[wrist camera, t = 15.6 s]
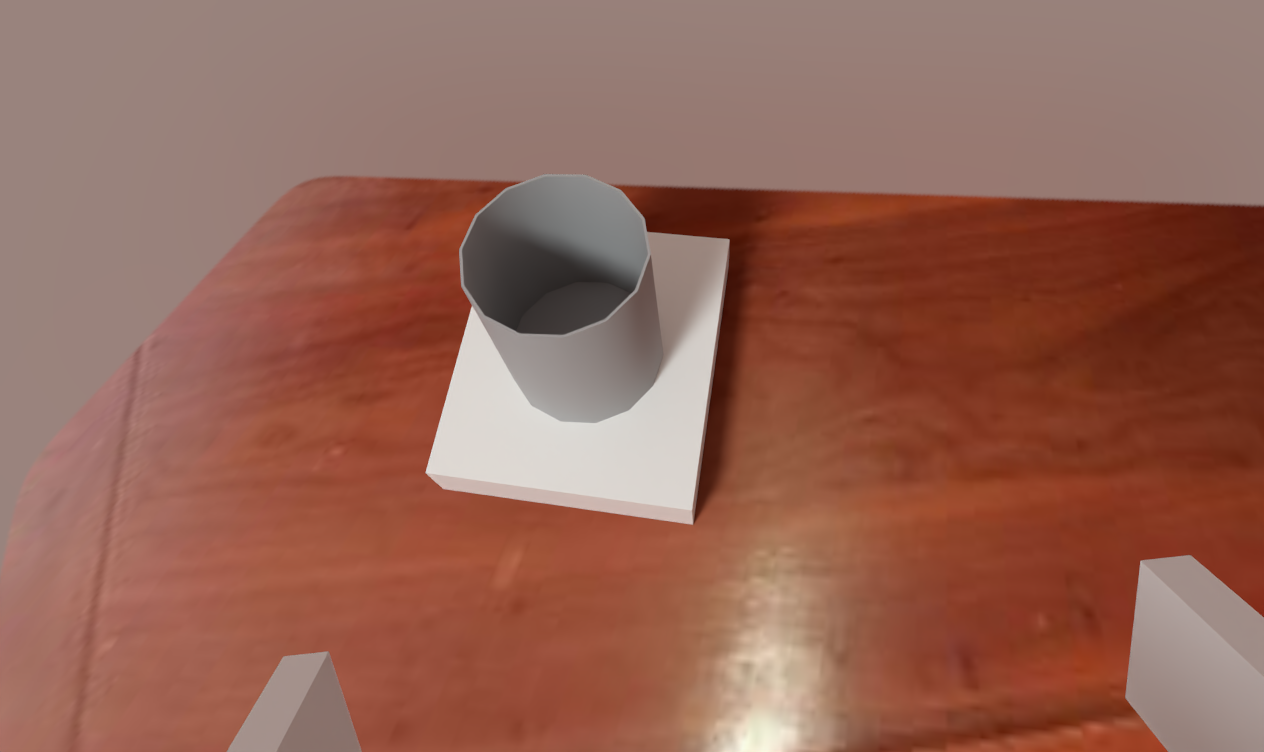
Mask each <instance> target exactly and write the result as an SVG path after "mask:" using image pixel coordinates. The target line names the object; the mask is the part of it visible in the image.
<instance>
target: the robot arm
mask: <svg viewBox="0 0 1264 752" xmlns="http://www.w3.org/2000/svg"><path fill="white" fill-rule="evenodd" d="M1125 698H1126V699H1127V701H1128V702H1129V703H1130V704H1131V706H1132V707H1133V708H1134V709H1135V711H1136V712H1137V713H1138V714H1139V716H1140V717H1141V718H1142V719H1143V721H1144V722H1145V723H1146V724H1147V726H1148V727H1149V728H1150V729H1151V731H1152V732H1153V733H1154V734H1155V736H1156V737H1157V738H1158V739H1159V741H1160V742H1161V743H1162V744H1163V746H1164V747H1165V748H1166V749H1167V751H1168V752H1264V617H1262V616H1261V615H1260V614H1259V613H1258V612H1256V611H1255V610H1254V609H1253V608H1252V607H1251V606H1249V605H1248V604H1247V603H1246V602H1245V601H1244V600H1242V599H1241V598H1240V597H1239V596H1238V595H1237V594H1235V593H1234V592H1233V591H1232V590H1231V589H1229V588H1228V587H1227V586H1226V585H1225V584H1224V583H1222V582H1221V581H1220V580H1219V579H1218V578H1217V577H1215V576H1214V575H1213V574H1212V573H1211V572H1210V571H1208V570H1207V569H1206V568H1205V567H1204V566H1203V565H1201V564H1200V563H1199V562H1198V561H1197V560H1195V559H1194V558H1193V557H1192V556H1191V555H1187V556H1178V557H1169V558H1160V559H1151V560H1142V561H1141V562H1140V571H1139V580H1138V589H1137V598H1136V607H1135V616H1134V625H1133V634H1132V643H1131V651H1130V660H1129V669H1128V678H1127V687H1126V696H1125ZM227 752H362V751H361V748H360V745H359V742H358V739H357V736H356V733H355V730H354V726H353V723H352V720H351V717H350V714H349V711H348V708H347V705H346V702H345V699H344V696H343V693H342V690H341V687H340V684H339V681H338V678H337V675H336V672H335V669H334V666H333V663H332V660H331V657H330V654H329V651H328V652H319V653H310V654H302V655H293V656H284V657H283V658H282V660H281V662H280V663H279V665H278V667H277V668H276V670H275V672H274V673H273V675H272V677H271V678H270V680H269V682H268V683H267V685H266V687H265V688H264V690H263V692H262V693H261V695H260V697H259V698H258V700H257V702H256V703H255V705H254V707H253V709H252V710H251V712H250V714H249V715H248V717H247V719H246V720H245V722H244V724H243V725H242V727H241V729H240V730H239V732H238V734H237V735H236V737H235V739H234V740H233V742H232V744H231V745H230V747H229V749H228V750H227Z"/></svg>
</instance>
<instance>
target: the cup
mask: <svg viewBox="0 0 1264 752" xmlns="http://www.w3.org/2000/svg"><path fill="white" fill-rule="evenodd" d="M459 254H460V272H461V286H462V288H463V290H464V292H465V294H466V295H467V297H468V299H469V301H470V302H471V304H472V306H473V308H474V310H475V311H476V313H477V315H478V317H479V318H480V320H481V322H482V324H483V325H484V327H485V329H486V331H487V333H488V334H489V336H490V338H491V340H492V341H493V343H494V345H495V347H496V349H497V350H498V352H499V354H500V356H501V357H502V359H503V361H504V363H505V364H506V366H507V368H508V370H509V372H510V373H511V375H512V377H513V379H514V380H515V382H516V383H517V385H518V386H519V388H520V389H521V391H522V392H523V394H524V395H525V397H526V398H527V400H528V401H529V403H530V404H531V406H533V407H535V408H537V409H538V410H540V411H542V412H544V413H546V414H548V415H550V416H551V417H553V418H555V419H557V420H559V421H561V422H581V423H598V422H600V421H603V420H605V419H608V418H611V417H613V416H616V415H618V414H621V413H623V412H626V411H629V410H630V409H631V408H632V407H633V406H634V405H635V404H636V403H637V402H638V401H639V400H640V399H641V398H642V397H643V396H644V395H645V394H646V393H647V392H648V391H649V390H650V388H651V387H652V386H653V385H654V382H655V379H656V376H657V373H658V370H659V367H660V364H661V361H662V358H663V347H662V339H661V331H660V323H659V315H658V307H657V299H656V291H655V283H654V275H653V267H652V259H651V252H650V246H649V241H648V235H647V230H646V224H645V218H644V217H643V216H642V215H641V213H640V212H639V211H638V210H637V209H636V207H635V206H634V205H633V204H632V203H631V201H630V200H629V199H628V198H627V197H626V196H625V194H624V193H623V192H622V191H621V190H620V189H617V188H615V187H613V186H610V185H608V184H606V183H603V182H601V181H599V180H596V179H594V178H592V177H589V176H587V175H566V174H563V175H562V174H559V175H558V174H544V175H541V176H539V177H536V178H533V179H530V180H527V181H525V182H522V183H519V184H517V185H514V186H511V187H508V188H506V189H504V190H503V191H502V192H501V193H500V194H499V195H498V196H496V197H495V198H494V199H493V200H492V201H491V202H490V203H488V204H487V205H486V206H485V207H484V208H483V209H482V210H480V211H479V212H478V213H477V214H476V215H475V217H474V219H473V221H472V223H471V225H470V227H469V230H468V232H467V234H466V236H465V238H464V240H463V243H462V245H461V247H460V249H459Z"/></svg>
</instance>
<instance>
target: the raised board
mask: <svg viewBox="0 0 1264 752" xmlns="http://www.w3.org/2000/svg"><path fill="white" fill-rule="evenodd" d="M647 235H648V241H649V246H650V252H651V259H652V267H653V275H654V283H655V291H656V299H657V307H658V315H659V323H660V331H661V339H662V347H663V358H662V361H661V364H660V367H659V370H658V373H657V376H656V379H655V382H654V385H653V386H652V387H651V388H650V390H649V391H648V392H647V393H646V394H645V395H644V396H643V397H642V398H641V399H640V400H639V401H638V402H637V403H636V404H635V405H634V406H633V407H632V408H631V409H630V410H629V411H626V412H623V413H621V414H618V415H616V416H613V417H611V418H608V419H605V420H603V421H600V422H598V423H581V422H561V421H559V420H557V419H555V418H553V417H551V416H550V415H548V414H546V413H544V412H542V411H540V410H538V409H537V408H535V407H533V406H531V404H530V403H529V401H528V400H527V398H526V397H525V395H524V394H523V392H522V391H521V389H520V388H519V386H518V385H517V383H516V382H515V380H514V379H513V377H512V375H511V373H510V372H509V370H508V368H507V366H506V364H505V363H504V361H503V359H502V357H501V356H500V354H499V352H498V350H497V349H496V347H495V345H494V343H493V341H492V340H491V338H490V336H489V334H488V333H487V331H486V329H485V327H484V325H483V324H482V322H481V320H480V318H479V317H478V315H477V313H476V311H475V310H474V308H473V306H472V308H471V311H470V315H469V318H468V322H467V326H466V329H465V333H464V336H463V340H462V344H461V347H460V351H459V354H458V358H457V362H456V365H455V369H454V372H453V376H452V380H451V383H450V387H449V390H448V394H447V398H446V401H445V405H444V408H443V412H442V415H441V419H440V423H439V426H438V430H437V433H436V437H435V441H434V444H433V448H432V451H431V455H430V459H429V462H428V466H427V469H426V474H427V475H428V476H429V477H431V478H432V479H433V480H434V481H435V482H436V483H437V484H438V485H439V486H441V487H442V488H443V489H448V490H455V491H462V492H469V493H476V494H483V495H490V496H497V497H504V498H511V499H518V500H525V501H532V502H539V503H546V504H553V505H560V506H567V507H573V508H580V509H587V510H594V511H601V512H608V513H615V514H622V515H629V516H636V517H643V518H650V519H657V520H664V521H671V522H678V523H685V524H692V525H693V523H694V515H695V508H696V501H697V493H698V486H699V479H700V472H701V464H702V457H703V450H704V442H705V435H706V428H707V421H708V413H709V406H710V399H711V391H712V384H713V377H714V370H715V362H716V355H717V348H718V340H719V333H720V326H721V319H722V311H723V304H724V297H725V289H726V282H727V275H728V268H729V243H730V239H721V238H710V237H698V236H687V235H676V234H665V233H653V232H647Z"/></svg>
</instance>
